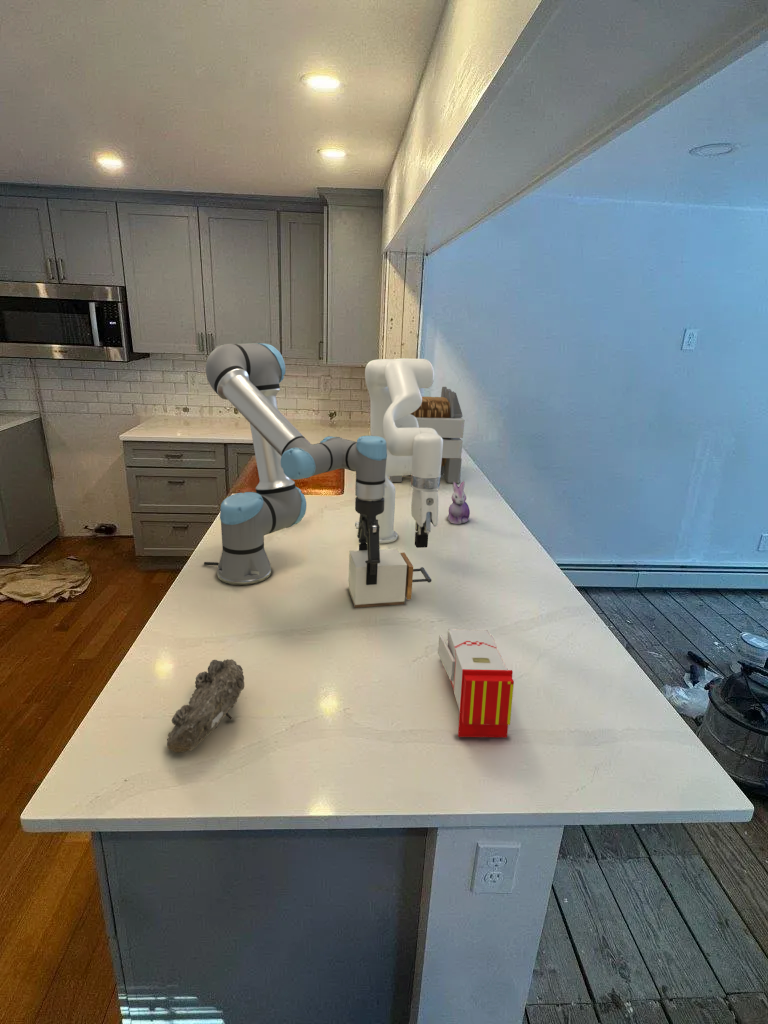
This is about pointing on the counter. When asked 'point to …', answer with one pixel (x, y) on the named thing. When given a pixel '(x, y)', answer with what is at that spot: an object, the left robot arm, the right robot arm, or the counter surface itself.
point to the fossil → (206, 705)
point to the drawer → (410, 576)
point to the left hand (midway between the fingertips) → (367, 574)
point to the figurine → (458, 505)
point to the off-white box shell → (388, 579)
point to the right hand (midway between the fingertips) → (420, 546)
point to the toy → (478, 682)
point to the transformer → (443, 430)
